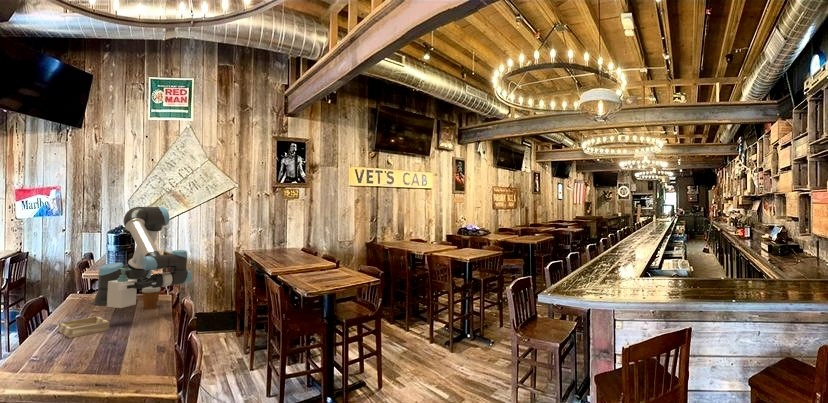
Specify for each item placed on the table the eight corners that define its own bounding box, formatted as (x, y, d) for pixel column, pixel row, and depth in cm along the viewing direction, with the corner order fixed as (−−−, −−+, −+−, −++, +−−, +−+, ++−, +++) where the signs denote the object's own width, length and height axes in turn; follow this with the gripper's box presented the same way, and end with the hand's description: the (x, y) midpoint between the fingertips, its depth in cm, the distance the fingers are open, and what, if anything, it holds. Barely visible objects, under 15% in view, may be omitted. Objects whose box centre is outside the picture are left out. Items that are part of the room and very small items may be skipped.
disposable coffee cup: (152, 310, 226) (153, 289, 226) (136, 309, 226) (137, 288, 226) (163, 306, 235) (164, 286, 235) (148, 305, 235) (149, 285, 236)
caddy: (58, 331, 186) (58, 322, 186) (97, 324, 198) (97, 316, 198) (69, 338, 177) (69, 329, 177) (109, 330, 190) (109, 321, 190)
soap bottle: (121, 308, 195) (123, 270, 195) (106, 306, 196) (108, 269, 197) (136, 304, 203) (138, 267, 203) (122, 302, 205) (124, 266, 205)
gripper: (171, 290, 209) (123, 297, 190) (150, 283, 221) (103, 290, 203) (171, 276, 209) (124, 281, 190) (150, 270, 221) (104, 275, 203)
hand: (113, 286), depth 197 cm, fingers closed on soap bottle, 11 cm apart
